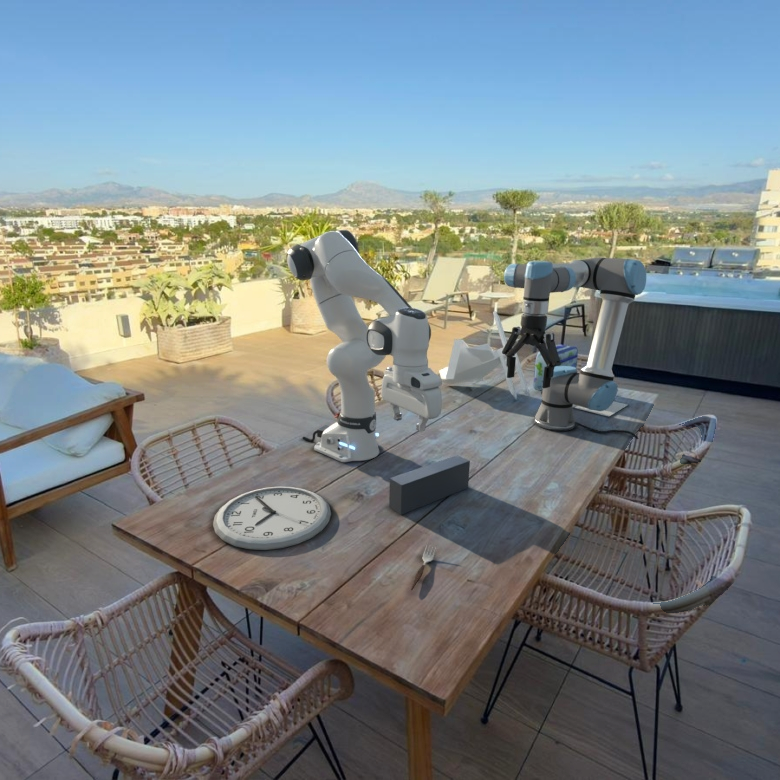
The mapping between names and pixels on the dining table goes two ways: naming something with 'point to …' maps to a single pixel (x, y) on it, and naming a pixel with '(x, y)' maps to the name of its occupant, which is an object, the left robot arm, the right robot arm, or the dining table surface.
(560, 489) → the dining table surface
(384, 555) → the dining table surface
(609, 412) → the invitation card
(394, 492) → the bar
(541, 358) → the lunch box
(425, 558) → the fork
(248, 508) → the wall clock
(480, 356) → the white plastic object
